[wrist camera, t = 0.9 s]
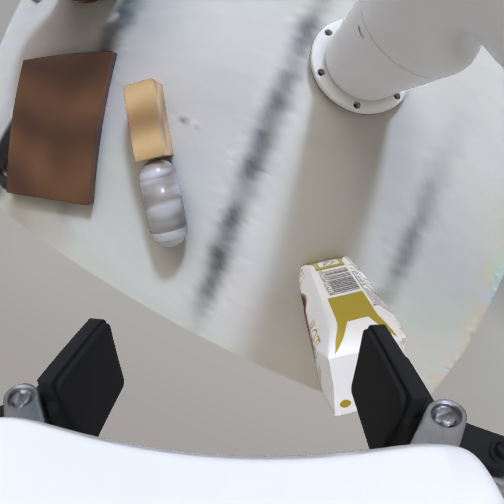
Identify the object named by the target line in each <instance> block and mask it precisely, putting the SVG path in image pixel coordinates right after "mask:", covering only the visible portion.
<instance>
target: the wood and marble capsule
mask: <svg viewBox="0 0 504 504" xmlns="http://www.w3.org/2000/svg"><path fill="white" fill-rule="evenodd" d="M123 88H124V96H125V103H126V110H127V117H128V123H129V129H130V135H131V141H132V147H133V153H134V158H135V162H143V161H149V160H151V161H149V162H148V163H146V164H145V165H144V166H143V168H142V170H141V172H140V175H139V182H140V187H141V192H142V197H143V201H144V206H145V210H146V215H147V219H148V224H149V228H150V232H151V235H152V237H153V239H154V240H155V241H156V243H158V244H159V245H161V246H163V247H174V246H176V245H178V244H180V243H181V242H182V241H183V240H184V238H185V236H186V234H187V221H186V217H185V212H184V207H183V202H182V197H181V192H180V187H179V182H178V177H177V173H176V170H175V168H174V166H173V165H172V164H171V163H170V162H168V161H166V160H163V159H157V158H161V157H166V156H170V155H173V150H172V144H171V139H170V133H169V127H168V121H167V115H166V109H165V102H164V96H163V89H162V84H160V83H158V82H157V81H155V80H153V79H152V78H150V79H146V80H143V81H140V82H137V83H134V84H130V85H127V86H124V87H123ZM153 159H154V160H153Z"/></svg>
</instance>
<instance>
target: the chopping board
mask: <svg viewBox="0 0 504 504" xmlns="http://www.w3.org/2000/svg"><path fill="white" fill-rule="evenodd" d="M116 55H117V54H116V53H114V52H113V51H103V52H87V53H75V54H65V55H56V56H49V57H42V58H35V59H29V60H24V61H23V65H22V70H21V74H20V78H19V83H18V88H17V93H16V99H15V105H14V111H13V118H12V125H11V133H10V142H9V153H8V168H7V192H8V193H15V194H21V195H27V196H34V197H40V198H46V199H53V200H59V201H65V202H71V203H77V204H83V205H90V204H93V203H94V190H95V178H96V168H97V159H98V151H99V144H100V136H101V130H102V123H103V117H104V111H105V106H106V101H107V95H108V90H109V86H110V81H111V76H112V72H113V68H114V63H115V59H116Z"/></svg>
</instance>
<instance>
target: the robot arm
mask: <svg viewBox="0 0 504 504" xmlns="http://www.w3.org/2000/svg"><path fill="white" fill-rule="evenodd" d="M326 34H328V35H329V36H327V35H326ZM481 44H482V45H483V46H484V47H485V49H486V50H487V51H488V52H489V53H490V54H491V56H492V57H493V58H494V59H495V60H496V61H497V62H498V63H499V64H500V65H501V66H502V67H503V69H504V0H357V2H356V3H355V5H354V6H353V8H352V9H351V11H350V12H349V13H348V15H347V16H346V18H345V19H341V20H338V21H335V22H332V23H331V24H329V25H327V26H326V27H324V28H323V29H322V31H321V32H320V33H319V34H318V35H317V37H316V39H315V41H314V43H313V45H312V49H311V54H310V64H311V69H312V73H313V75H314V78H315V80H316V82H317V84H318V85H319V87H320V88H321V90H322V91H323V92H324V93H325V94H326V95H327V96H328V97H329V99H331V100H332V101H333V102H335V103H336V104H337V105H339V106H341V107H343V108H345V109H346V110H349V111H352V112H355V113H361V114H377V113H382V112H385V111H387V110H390V109H392V108H393V107H395V106H397V105H398V104H399V103H400V102H401V101H402V100H403V98H404V97H405V95H406V93H407V91H408V89H411V88H414V87H417V86H420V85H423V84H426V83H429V82H432V81H435V80H438V79H441V78H444V77H447V76H450V75H453V74H456V73H458V72H460V71H462V70H464V69H465V68H466V67H468V66H469V65H470V64H471V63H472V62H473V60H474V59H475V57H476V56H477V54H478V52H479V50H480V47H481ZM319 72H320V73H322V76H320V75H318V73H319ZM394 95H395V96H396V99H395V98H394ZM354 104H356V105H357V107H356V108H355V107H354ZM37 381H38V384H39V385H38V386H37V388H36V387H35V386H33V385H31V384H25V383H23V384H18V385H15V386H13V387H12V388H10V389H9V390H8V391H7V392H6V394H5V395H4V399H3V405H2V406H0V504H504V436H502V435H499V434H496V433H493V432H490V431H487V430H484V429H482V428H479V427H476V426H473V425H471V424H468V423H466V422H467V414H466V411H465V410H464V408H463V407H462V406H461V405H459V404H458V403H456V402H454V401H452V400H446V399H442V400H437V401H434V400H433V398H432V397H431V395H430V393H429V392H428V390H427V388H426V387H425V385H424V383H423V382H422V380H421V378H420V377H419V375H418V373H417V372H416V370H415V369H414V367H413V365H412V364H411V362H410V360H409V359H408V358H407V357H405V355H404V353H403V352H402V350H401V349H400V347H399V345H398V344H397V342H396V341H395V339H394V338H393V336H392V335H391V333H390V331H389V330H388V328H387V327H386V325H385V324H378V325H369V327H368V329H364V331H363V334H362V339H361V344H360V349H359V354H358V359H357V363H356V368H355V372H354V377H353V381H352V386H351V392H352V396H353V399H354V402H355V405H356V408H357V411H358V414H359V417H360V420H361V424H362V426H363V430H364V433H365V436H366V439H367V443H368V446H369V449H368V450H360V451H351V452H341V453H330V454H317V455H299V456H234V455H215V454H202V453H191V452H181V451H174V450H166V449H159V448H153V447H146V446H140V445H135V444H129V443H124V442H119V441H114V440H110V439H105V438H101V437H98V436H99V434H100V431H101V429H102V427H103V425H104V423H105V421H106V419H107V417H108V415H109V413H110V411H111V409H112V407H113V405H114V403H115V402H116V399H117V398H118V396H119V394H120V392H121V389H122V388H123V385H124V378H123V374H122V371H121V367H120V364H119V360H118V356H117V352H116V348H115V345H114V340H113V337H112V332H111V328H110V325H109V324H107V323H106V321H105V320H102V319H92V318H91V319H89V320H88V321H87V322H86V323H85V325H84V326H83V327H82V328H81V329H80V331H78V332H77V334H76V335H75V336H74V337H73V338H72V339H71V340H70V342H69V343H68V344H67V345H66V346H65V347H64V348H63V350H62V351H61V352H60V353H59V354H58V356H57V357H56V358H55V359H54V361H53V362H52V363H51V364H50V365H49V366H48V368H47V369H46V370H45V371H44V372H43V374H42V375H41V376H40V377H39V378H38V380H37Z"/></svg>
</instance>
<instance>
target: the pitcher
mask: <svg viewBox="0 0 504 504" xmlns="http://www.w3.org/2000/svg"><path fill="white" fill-rule="evenodd" d="M74 1H75V2H78V3H90V2H94V1H97V0H74Z"/></svg>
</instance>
